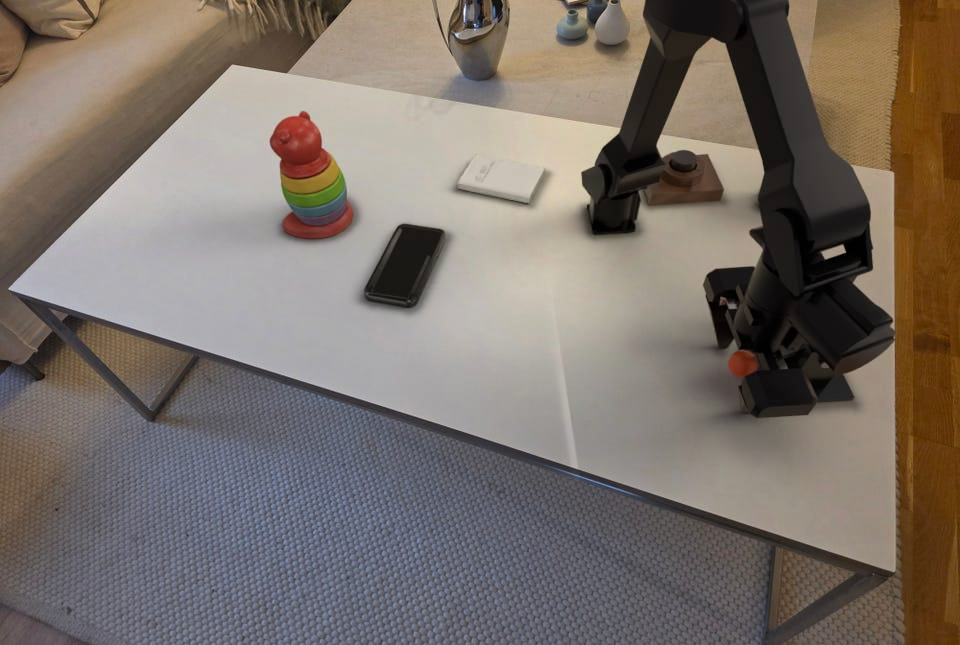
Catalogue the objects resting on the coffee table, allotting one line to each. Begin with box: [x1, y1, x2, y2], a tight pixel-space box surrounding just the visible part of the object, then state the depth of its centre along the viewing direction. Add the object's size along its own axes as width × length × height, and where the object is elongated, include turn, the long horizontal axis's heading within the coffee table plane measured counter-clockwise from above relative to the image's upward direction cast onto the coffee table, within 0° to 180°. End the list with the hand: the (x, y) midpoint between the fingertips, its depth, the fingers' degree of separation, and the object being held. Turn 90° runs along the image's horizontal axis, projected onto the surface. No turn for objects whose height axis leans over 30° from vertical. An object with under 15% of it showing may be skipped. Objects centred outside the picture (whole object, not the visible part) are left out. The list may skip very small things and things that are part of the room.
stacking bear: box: [269, 110, 354, 239], centre depth 87 cm, size 11×10×18 cm
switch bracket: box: [744, 345, 856, 403], centre depth 67 cm, size 10×8×9 cm
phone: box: [363, 223, 447, 308], centre depth 86 cm, size 8×1×15 cm
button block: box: [643, 151, 725, 206], centre depth 92 cm, size 11×9×4 cm
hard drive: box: [457, 154, 546, 204], centre depth 97 cm, size 2×8×12 cm
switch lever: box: [727, 343, 808, 379], centre depth 67 cm, size 11×3×3 cm, turn 93°
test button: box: [671, 149, 697, 173], centre depth 90 cm, size 4×4×2 cm
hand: (734, 378), depth 71 cm, fingers open, 9 cm apart
